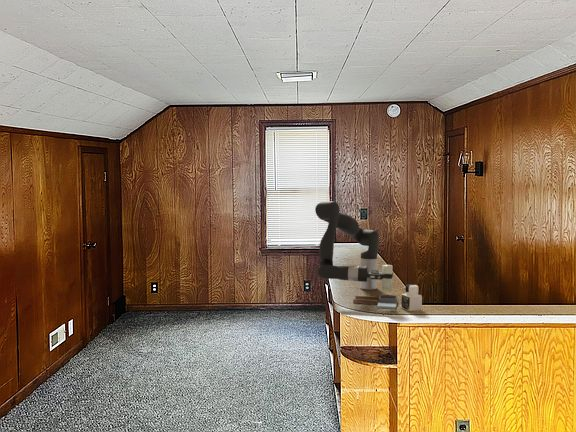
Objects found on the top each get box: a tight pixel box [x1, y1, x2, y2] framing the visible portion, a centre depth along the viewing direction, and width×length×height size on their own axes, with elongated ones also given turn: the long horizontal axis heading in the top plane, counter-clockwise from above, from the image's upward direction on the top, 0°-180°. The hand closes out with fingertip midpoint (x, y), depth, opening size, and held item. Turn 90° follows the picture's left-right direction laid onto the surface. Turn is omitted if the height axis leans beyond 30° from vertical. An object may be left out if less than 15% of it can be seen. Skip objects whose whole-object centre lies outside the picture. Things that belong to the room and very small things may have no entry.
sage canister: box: [381, 264, 393, 292], centre depth 293 cm, size 5×5×12 cm
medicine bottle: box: [401, 283, 423, 312], centre depth 289 cm, size 7×7×12 cm
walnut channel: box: [352, 295, 380, 305], centre depth 305 cm, size 9×12×2 cm
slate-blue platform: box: [376, 301, 398, 310], centre depth 294 cm, size 8×9×1 cm
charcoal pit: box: [378, 294, 398, 304], centre depth 302 cm, size 8×8×3 cm
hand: (392, 275), depth 292 cm, fingers closed on sage canister, 5 cm apart
